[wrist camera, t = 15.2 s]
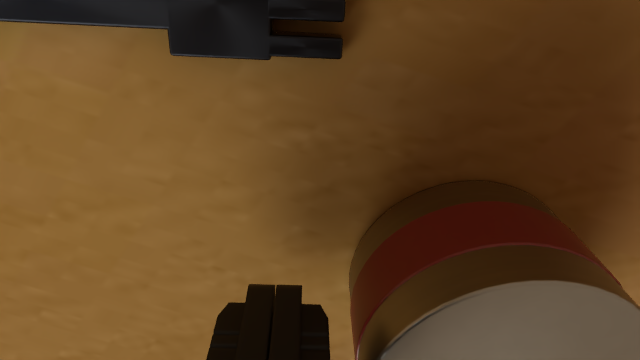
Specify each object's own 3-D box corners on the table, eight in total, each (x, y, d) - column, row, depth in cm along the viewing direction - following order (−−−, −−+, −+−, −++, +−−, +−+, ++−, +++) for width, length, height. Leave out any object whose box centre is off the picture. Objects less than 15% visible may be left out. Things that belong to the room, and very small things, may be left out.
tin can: (304, 252, 14) (300, 372, 10) (516, 133, 12) (615, 220, 8) (412, 380, 17) (443, 515, 13) (598, 297, 15) (702, 423, 11)
